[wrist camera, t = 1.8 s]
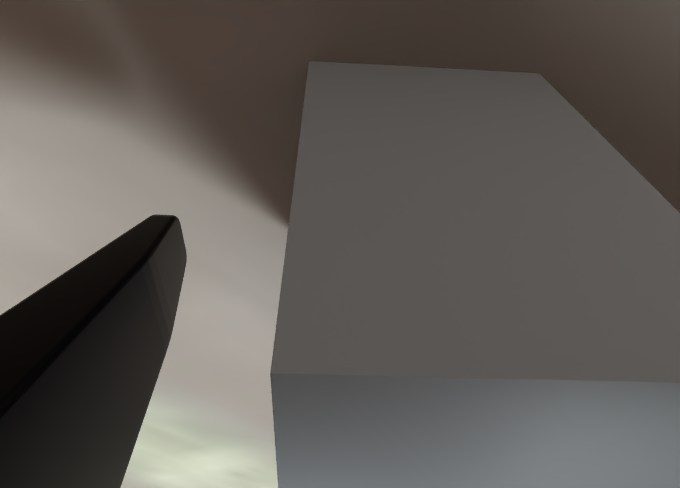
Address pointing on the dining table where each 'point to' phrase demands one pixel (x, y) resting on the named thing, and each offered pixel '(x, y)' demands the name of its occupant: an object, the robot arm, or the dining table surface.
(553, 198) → the grey rectangular box
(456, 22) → the dining table surface
